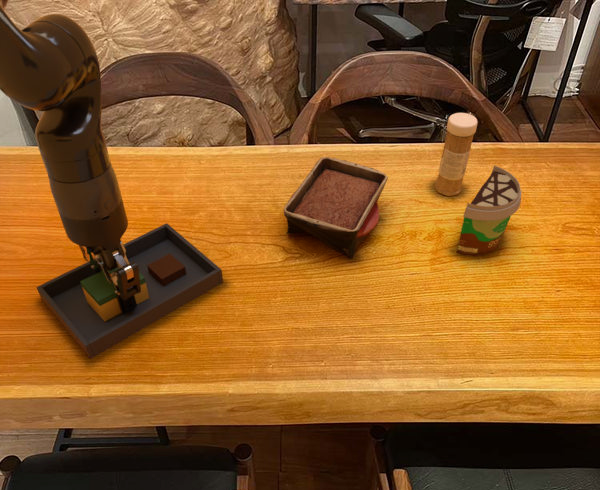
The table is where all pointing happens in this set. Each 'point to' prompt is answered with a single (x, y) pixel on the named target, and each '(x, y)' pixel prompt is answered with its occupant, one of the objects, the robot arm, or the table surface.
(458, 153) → the sprinkles bottle
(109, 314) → the sponge
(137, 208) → the table surface
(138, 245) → the pan
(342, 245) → the soil filled planter
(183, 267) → the burnt scrap
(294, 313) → the table surface
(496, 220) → the food container
